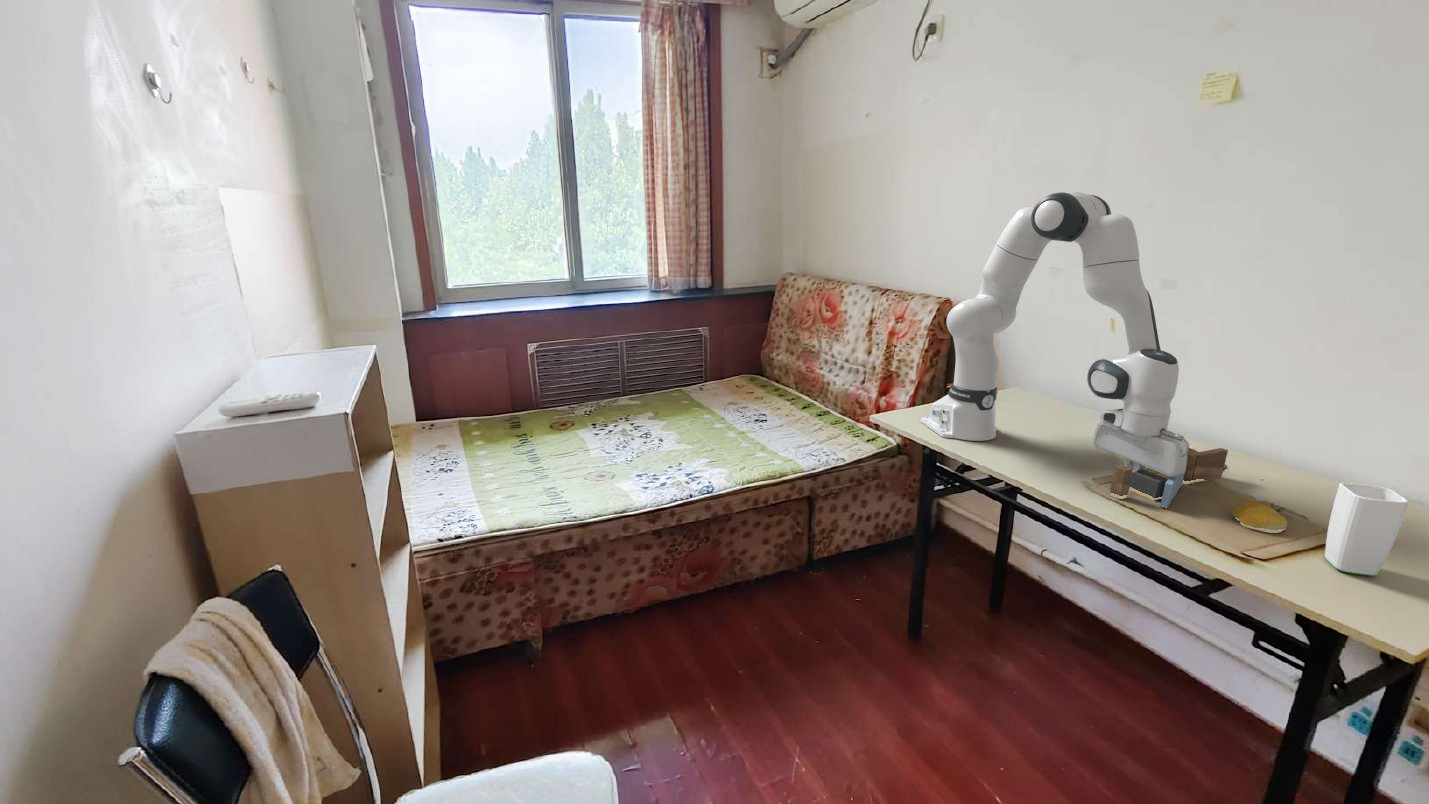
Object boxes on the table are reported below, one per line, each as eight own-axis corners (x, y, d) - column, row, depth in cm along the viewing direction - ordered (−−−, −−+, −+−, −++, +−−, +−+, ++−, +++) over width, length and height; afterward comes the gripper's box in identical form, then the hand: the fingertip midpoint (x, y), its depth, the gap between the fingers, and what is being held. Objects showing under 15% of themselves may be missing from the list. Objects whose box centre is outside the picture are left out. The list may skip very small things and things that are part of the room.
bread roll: (1247, 533, 127) (1251, 515, 126) (1224, 513, 136) (1229, 496, 135) (1296, 537, 126) (1301, 519, 124) (1270, 517, 134) (1275, 499, 133)
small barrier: (1109, 495, 144) (1114, 466, 142) (1212, 474, 154) (1219, 447, 152) (1119, 499, 142) (1124, 470, 140) (1223, 478, 152) (1229, 450, 150)
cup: (1333, 574, 113) (1357, 497, 108) (1314, 554, 119) (1335, 481, 115) (1387, 582, 110) (1414, 504, 106) (1364, 561, 117) (1388, 486, 112)
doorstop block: (1128, 490, 147) (1132, 472, 145) (1140, 487, 148) (1144, 469, 147) (1154, 501, 141) (1158, 482, 140) (1166, 498, 143) (1170, 479, 141)
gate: (1160, 506, 138) (1165, 483, 136) (1176, 482, 149) (1180, 460, 148) (1166, 508, 137) (1172, 484, 135) (1182, 484, 149) (1187, 462, 147)
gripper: (1200, 436, 135) (1186, 495, 139) (1114, 407, 153) (1103, 460, 158) (1179, 440, 133) (1165, 500, 137) (1094, 410, 151) (1084, 464, 156)
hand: (1131, 478), depth 148 cm, fingers closed
